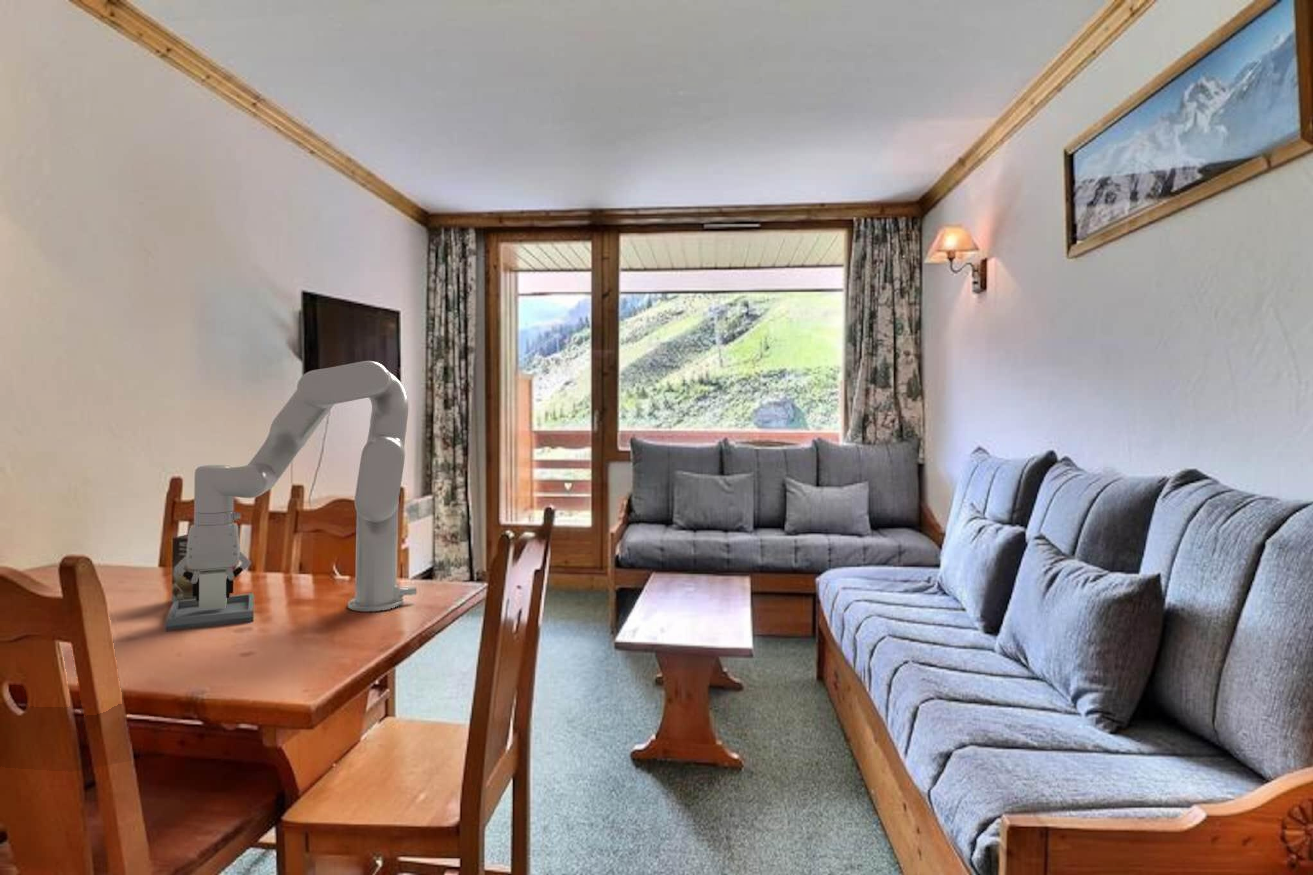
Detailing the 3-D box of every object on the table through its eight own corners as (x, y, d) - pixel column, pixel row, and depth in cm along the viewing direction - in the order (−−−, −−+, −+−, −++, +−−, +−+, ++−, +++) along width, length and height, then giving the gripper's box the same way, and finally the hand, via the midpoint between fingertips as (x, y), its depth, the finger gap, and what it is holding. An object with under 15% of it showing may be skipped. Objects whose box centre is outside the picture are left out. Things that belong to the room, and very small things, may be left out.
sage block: (226, 601, 156) (227, 567, 156) (225, 607, 151) (225, 572, 150) (200, 603, 153) (201, 569, 153) (199, 610, 148) (199, 574, 148)
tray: (253, 603, 163) (253, 593, 163) (253, 621, 149) (253, 610, 149) (173, 611, 155) (173, 601, 155) (165, 631, 141) (165, 619, 141)
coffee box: (169, 602, 162) (170, 537, 161) (190, 595, 168) (191, 533, 168) (204, 604, 161) (205, 539, 160) (224, 597, 167) (225, 534, 167)
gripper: (257, 515, 159) (256, 590, 159) (169, 518, 150) (169, 598, 151) (257, 519, 153) (256, 597, 153) (166, 523, 144) (165, 606, 144)
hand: (213, 597), depth 152 cm, fingers closed on sage block, 5 cm apart
